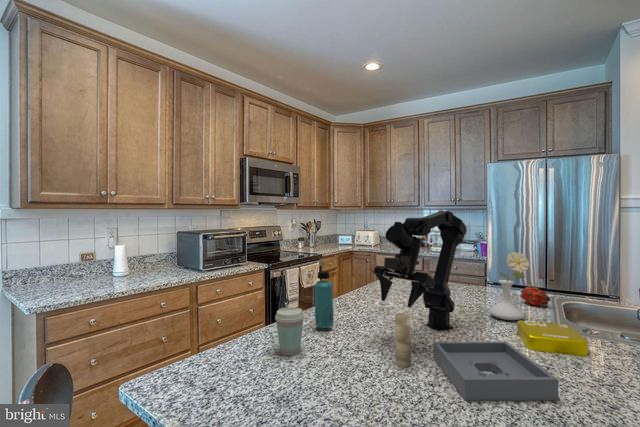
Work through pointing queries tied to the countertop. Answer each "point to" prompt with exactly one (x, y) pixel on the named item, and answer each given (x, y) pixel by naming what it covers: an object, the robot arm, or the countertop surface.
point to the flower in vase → (506, 306)
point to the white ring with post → (384, 302)
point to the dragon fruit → (534, 296)
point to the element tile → (552, 338)
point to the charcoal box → (500, 357)
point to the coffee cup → (289, 330)
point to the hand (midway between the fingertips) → (395, 303)
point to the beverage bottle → (323, 301)
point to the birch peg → (403, 339)
